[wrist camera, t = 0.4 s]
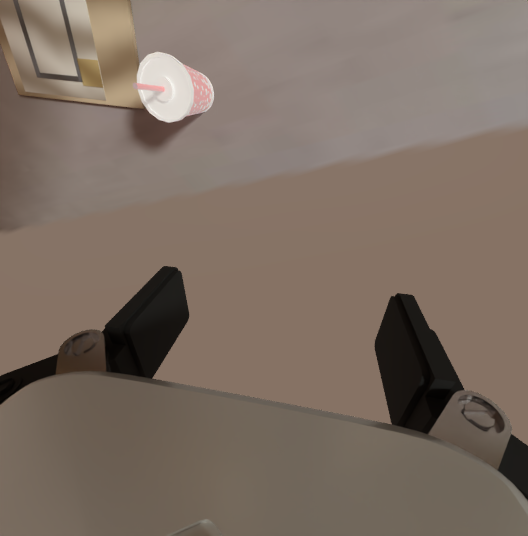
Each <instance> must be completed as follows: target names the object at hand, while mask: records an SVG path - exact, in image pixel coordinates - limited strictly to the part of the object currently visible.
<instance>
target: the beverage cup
mask: <svg viewBox="0 0 528 536" xmlns="http://www.w3.org/2000/svg"><path fill="white" fill-rule="evenodd" d="M133 88H134V89H138V92H139V95H140V98H141V101H142V103H143V104H144V106H145V107H146V109H147V110H148V111H149V113H150V114H152V115H153V116H154V117H156V118H157V119H158V120H161V121H165V122H169V123H170V122H175V121H179V120H182V119H183V118H184V117H185V116H190V115H194V114H198V113H203V112H206V111H207V110H208V109H209V108H210V107H211V105H212V103H213V99H214V91H213V87H212V84H211V83H210V81H209V79H208V78H207V77H206V76H205V75H203V74H202V73H200V72H198V71H196V70H194V69H192V68H190V67H188V66H186V65H184V64H182V63H181V62H180V61H178V60H177V59H176V58H175V57H173V56H171V55H169V54H165V53H161V52H155V53H152V54H149V55H147V56H146V57H145V58H144V60H143V61H142V62H141V63H140V66H139V69H138V73H137V83H133Z"/></svg>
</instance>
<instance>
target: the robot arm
mask: <svg viewBox="0 0 528 536" xmlns="http://www.w3.org/2000/svg"><path fill="white" fill-rule="evenodd" d="M188 319H189V311H188V305H187V300H186V295H185V289H184V284H183V279H182V273H181V272H180V271H178V269H177V268H176V267H168V266H164V267H162V268H161V269H160V270H159V271H158V272H157V273H156V274H155V275H154V276H153V277H152V278H151V279H150V280H149V281H148V283H147V284H146V285H144V287H143V288H142V289H141V290H140V291H139V292H138V293H137V294H136V295H135V296H134V297H133V298H132V299H131V300H130V301H129V302H128V303H127V304H126V305H125V306H124V307H123V308H122V309H121V310H120V311H119V312H118V313H117V314H116V315H115V316H114V317H113V318H112V319H111V320H110V321H109V322H108V323H107V324H106V325H105V329H104V330H103V331H102V332H101V331H99V330H85V331H81V332H79V333H77V334H74V335H73V336H71V337H70V338H68V339H67V340H66V341H64V343H63V344H62V345H61V346H60V349H59V352H58V354H57V355H54V356H52V357H49V358H46V359H44V360H41V361H38V362H36V363H33V364H30V365H28V366H25V367H22V368H20V369H17V370H14V371H12V372H9V373H6V374H4V375H1V376H0V536H528V446H527V445H526V444H524V443H523V442H522V441H520V440H519V439H518V438H516V437H515V436H513V435H512V434H511V431H512V427H511V424H510V421H509V419H508V417H507V416H506V415H505V413H504V412H503V411H502V410H501V409H500V408H499V407H498V406H497V405H496V404H495V403H494V402H492V401H491V400H490V399H488V398H486V397H485V396H483V395H481V394H479V393H476V392H473V391H468V390H464V388H463V386H462V384H461V382H460V380H459V378H458V376H457V374H456V372H455V370H454V368H453V366H452V364H451V362H450V360H449V359H448V357H447V354H446V353H445V350H444V349H443V346H442V345H441V343H440V341H439V339H438V337H437V335H436V333H435V332H434V331H433V330H431V329H430V328H429V326H428V324H427V322H426V320H425V318H424V316H423V314H422V312H421V310H420V308H419V306H418V304H417V302H416V300H415V298H414V296H413V295H408V294H399V293H397V294H396V295H395V297H394V296H391V298H390V300H389V303H388V306H387V309H386V312H385V314H384V317H383V320H382V323H381V326H380V329H379V332H378V334H377V337H376V340H375V351H376V356H377V360H378V365H379V370H380V373H381V379H382V383H383V387H384V392H385V396H386V401H387V405H388V410H389V414H390V419H391V423H392V425H391V424H386V423H381V422H377V421H372V420H367V419H363V418H357V417H353V416H348V415H343V414H338V413H333V412H328V411H322V410H317V409H312V408H307V407H301V406H297V405H291V404H286V403H280V402H275V401H270V400H265V399H260V398H254V397H249V396H244V395H239V394H233V393H228V392H222V391H217V390H211V389H206V388H201V387H195V386H190V385H184V384H179V383H173V382H168V381H162V380H156V379H152V378H153V376H154V374H155V373H156V371H157V370H158V368H159V367H160V365H161V363H162V362H163V360H164V358H165V357H166V355H167V354H168V352H169V350H170V349H171V347H172V346H173V344H174V342H175V341H176V339H177V337H178V335H179V334H180V333H181V331H182V329H183V328H184V326H185V324H186V323H187V321H188Z"/></svg>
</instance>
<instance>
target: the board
mask: <svg viewBox="0 0 528 536" xmlns="http://www.w3.org/2000/svg"><path fill="white" fill-rule="evenodd" d="M0 44H1V47H2V50H3V52H4V55H5V58H6V61H7V64H8V66H9V69H10V72H11V75H12V78H13V80H14V83H15V86H16V89H17V92H18V94H19V95H25V96H34V97H43V98H52V99H61V100H70V101H79V102H87V103H96V104H105V105H114V106H123V107H132V108H141V109H145V106H144V104H143V103H142V101H141V98H140V95H139V92H138V89H134V88H133V83H137V73H138V69H139V60H138V53H137V45H136V38H135V31H134V24H133V17H132V9H131V2H130V0H0Z"/></svg>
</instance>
